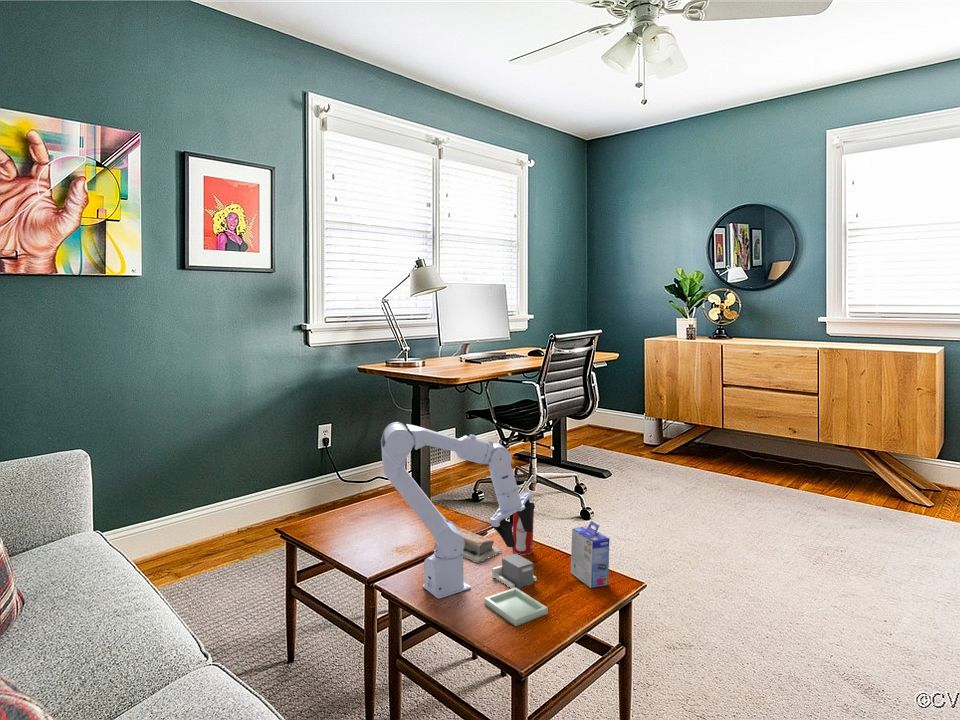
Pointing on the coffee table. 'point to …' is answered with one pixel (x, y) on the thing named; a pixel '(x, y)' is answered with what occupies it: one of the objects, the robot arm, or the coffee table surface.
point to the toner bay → (498, 575)
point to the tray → (515, 606)
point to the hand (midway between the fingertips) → (519, 538)
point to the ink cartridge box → (590, 556)
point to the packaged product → (477, 546)
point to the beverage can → (522, 536)
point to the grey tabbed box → (517, 570)
